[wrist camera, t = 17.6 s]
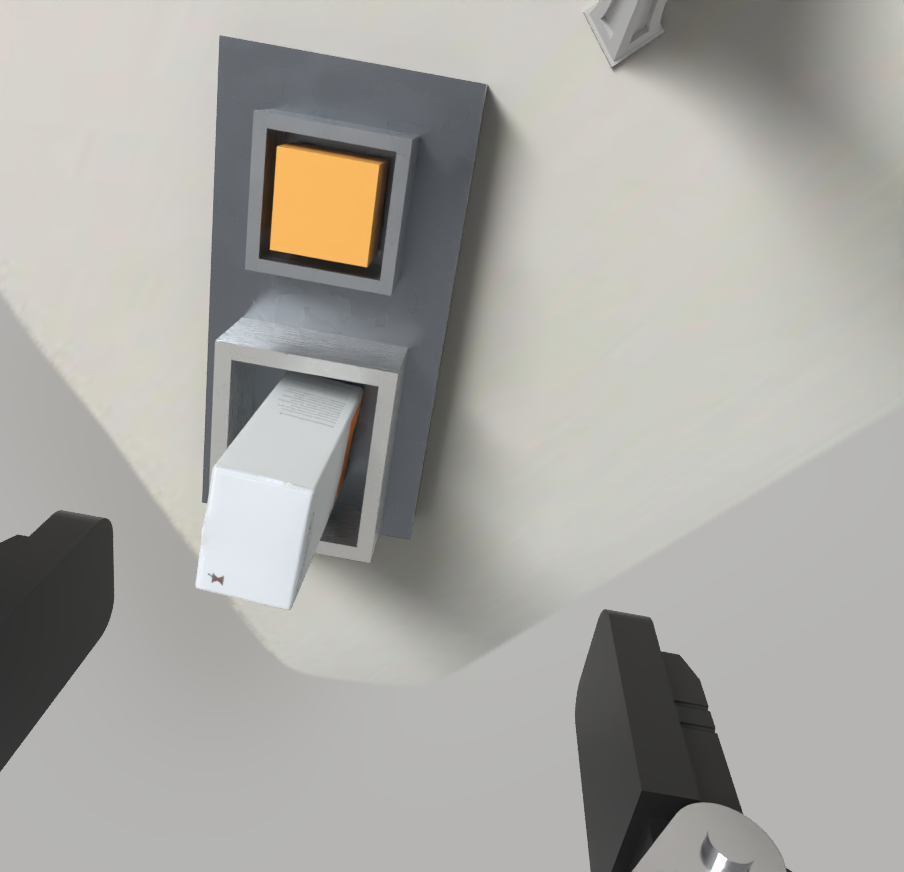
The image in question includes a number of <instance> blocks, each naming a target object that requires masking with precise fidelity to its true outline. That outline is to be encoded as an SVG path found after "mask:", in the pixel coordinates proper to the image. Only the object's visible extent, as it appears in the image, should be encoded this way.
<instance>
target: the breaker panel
mask: <svg viewBox="0 0 904 872" xmlns="http://www.w3.org/2000/svg"><path fill="white" fill-rule="evenodd" d="M487 86H488V85H487V84H482V83H476V82H471V81H465V80H460V79H454V78H449V77H444V76H438V75H433V74H427V73H422V72H416V71H411V70H405V69H400V68H395V67H389V66H384V65H378V64H373V63H367V62H362V61H356V60H351V59H345V58H340V57H335V56H329V55H324V54H318V53H313V52H307V51H302V50H296V49H291V48H286V47H280V46H275V45H269V44H264V43H258V42H253V41H247V40H242V39H236V38H231V37H226V36H220V39H219V66H218V93H217V119H216V146H215V173H214V200H213V227H212V253H211V280H210V307H209V334H208V361H207V387H206V414H205V441H204V468H203V495H202V502H203V503H207V502H208V496H209V489H210V482H211V475H212V469H213V467H214V465H215V464H216V463H217V461H218V460H219V459H220V458H221V456H222V455H223V454H224V452H225V451H226V450H227V448H228V447H229V446H230V445H231V443H232V442H233V441H234V439H235V438H236V437H237V436H238V434H239V433H240V432H241V430H242V429H243V428H244V427H245V425H246V424H247V423H248V421H249V420H250V419H251V417H252V416H253V415H254V413H255V412H256V411H257V410H258V409H259V407H260V406H261V405H262V403H263V402H264V401H265V400H266V398H267V397H268V396H269V394H270V393H271V392H272V391H273V389H274V388H275V387H276V385H277V384H278V383H279V381H280V380H281V379H282V378H283V376H284V375H285V374H286V372H287V371H288V370H290V371H296V372H301V373H307V374H312V375H316V376H319V377H323V378H327V379H331V380H335V381H338V382H342V383H346V384H350V385H354V386H359V387H361V388H363V390H364V393H363V397H362V401H361V405H360V409H359V413H358V417H357V421H356V425H355V429H354V433H353V438H352V442H351V447H350V452H349V457H348V462H347V467H346V472H345V478H344V483H343V485H342V488H341V490H340V492H339V495H338V497H337V500H336V502H335V504H334V507H333V509H332V511H331V514H330V516H329V519H328V521H327V524H326V526H325V529H324V531H323V534H322V536H321V538H320V541H319V543H318V546H317V548H316V550H315V553H317V554H322V555H328V556H334V557H339V558H345V559H350V560H356V561H361V562H367V563H370V562H371V559H372V555H373V552H374V549H375V545H376V542H377V538H378V535H379V534H381V535H387V536H392V537H398V538H404V539H409V540H410V535H411V531H412V526H413V522H414V517H415V511H416V505H417V499H418V494H419V488H420V482H421V476H422V470H423V464H424V458H425V452H426V446H427V440H428V435H429V429H430V423H431V417H432V411H433V405H434V399H435V393H436V387H437V381H438V376H439V370H440V364H441V358H442V352H443V346H444V340H445V334H446V328H447V322H448V317H449V311H450V305H451V299H452V293H453V287H454V281H455V275H456V269H457V263H458V258H459V252H460V246H461V240H462V234H463V228H464V222H465V216H466V210H467V204H468V199H469V193H470V187H471V181H472V175H473V169H474V163H475V157H476V151H477V145H478V140H479V134H480V128H481V122H482V116H483V110H484V104H485V98H486V92H487ZM292 142H299V143H304V144H310V145H315V146H321V147H326V148H331V149H337V150H342V151H348V152H353V153H359V154H364V155H370V156H375V157H381V158H386V159H389V166H388V174H387V182H386V190H385V198H384V206H383V214H382V222H381V230H380V238H379V246H378V253H377V255H376V257H375V258H374V259H373V260H372V262H371V263H370V264H369V265H368V267H362V266H357V265H351V264H346V263H340V262H335V261H329V260H324V259H318V258H313V257H307V256H302V255H296V254H291V253H285V252H280V251H274V250H270V240H271V225H272V211H273V196H274V182H275V167H276V152H277V146H280V145H284V144H288V143H292Z"/></svg>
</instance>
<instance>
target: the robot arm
mask: <svg viewBox="0 0 904 872" xmlns="http://www.w3.org/2000/svg"><path fill="white" fill-rule="evenodd" d="M113 603H114V564H113V528H112V524H111V522H110V521H109V520H108V519H106V518H101V517H95V516H90V515H85V514H79V513H73V512H68V511H62V510H60V511H57V512H55V513H54V514H53V515H52V516H51V517H50V518H49V519H47V520H46V521H45V522H44V523H43V524H42V525H41V526H40V527H39V528H38V529H37V530H36V531H35V532H33V534H31V535H30V536H29V537H27V536H22V535H16V536H14V537H12V538H9V539H7V540H5V541H3V542H1V543H0V771H1V770H2V769H3V767H4V766H5V765H6V763H7V762H8V761H9V759H10V758H11V756H12V755H13V754H14V752H15V751H16V750H17V749H18V747H19V746H20V745H21V743H22V742H23V741H24V739H25V738H26V737H27V735H28V734H29V733H30V731H31V730H32V729H33V727H34V726H35V725H36V723H37V722H38V721H39V719H40V718H41V717H42V715H43V714H44V713H45V711H46V710H47V709H48V707H49V706H50V705H51V703H52V702H53V701H54V699H55V698H56V696H57V695H58V693H59V692H60V691H61V690H62V688H63V687H64V686H65V684H66V683H67V682H68V680H69V679H70V677H71V676H72V675H73V674H74V672H75V671H76V670H77V668H78V667H79V666H80V664H81V663H82V662H83V660H84V659H85V657H86V656H87V655H88V653H89V652H90V651H91V650H92V648H93V647H94V646H95V644H96V643H97V641H98V640H99V639H100V637H101V636H102V635H103V633H104V631H105V629H106V627H107V625H108V622H109V619H110V616H111V613H112V609H113ZM575 724H576V733H577V743H578V752H579V763H580V772H581V782H582V792H583V801H584V811H585V820H586V829H587V839H588V849H589V858H590V869H591V872H792V871H790V870H788V869H787V868H786V866H785V863H784V860H783V857H782V855H781V853H780V852H779V850H778V848H777V846H776V845H775V843H774V842H773V840H772V839H771V838H770V837H769V836H768V835H767V833H766V832H765V831H764V830H763V829H761V828H760V827H759V826H758V825H757V824H756V823H754V822H753V821H752V820H751V819H749V818H748V817H746V816H744V815H743V812H742V809H741V806H740V803H739V800H738V797H737V794H736V791H735V788H734V784H733V781H732V778H731V775H730V772H729V769H728V766H727V763H726V760H725V757H724V754H723V750H722V747H721V744H720V741H719V738H718V735H717V733H715V725H714V723H713V719H712V716H711V713H710V711H708V704H707V701H706V698H705V694H704V691H703V688H702V685H701V682H700V680H699V678H698V677H697V676H696V675H695V673H694V672H693V671H692V670H691V668H690V667H689V666H688V665H687V663H686V662H685V661H684V660H683V658H682V657H681V656H680V655H677V654H672V653H667V652H661V651H660V647H659V643H658V640H657V636H656V633H655V629H654V625H653V622H652V620H651V618H650V617H645V616H640V615H634V614H628V613H623V612H617V611H612V610H606V609H605V610H603V611H602V613H601V614H600V617H599V619H598V622H597V626H596V629H595V632H594V635H593V639H592V642H591V645H590V649H589V652H588V655H587V659H586V662H585V665H584V668H583V672H582V675H581V679H580V682H579V686H578V691H577V698H576V707H575Z"/></svg>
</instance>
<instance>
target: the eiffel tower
mask: <svg viewBox="0 0 904 872" xmlns="http://www.w3.org/2000/svg"><path fill="white" fill-rule="evenodd" d="M666 2H667V0H599V2H598V3H596V4H595V5H593V6H592V7H590V8H589V9H588V10H586V11H585V12H583V13H584V15H585V17H586V19H587V20H588V22H589V24H590V26H591V28H592V30H593V32H594V34H595V36H596V38H597V40H598V42H599V44H600V46H601V48H602V50H603V52H604V54H605V56H606V58H607V60H608V62H609V64H610V66H611V67H613V66H614V65H616V64H617V63H619V62H620V61H622V60H623V59H625V58H626V57H628V56H629V55H631V54H632V53H634V52H635V51H637V50H638V49H640V48H641V47H643V46H644V45H646V44H647V43H649V42H650V41H652V40H653V39H655V38H656V37H658V36H659V35H661V34H662V33H664V32H665V31H664V29H663V27H662V25H661V23H660V21H661V17H662V13H663V10H664V7H665V5H666Z"/></svg>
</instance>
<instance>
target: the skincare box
mask: <svg viewBox="0 0 904 872" xmlns="http://www.w3.org/2000/svg"><path fill="white" fill-rule="evenodd" d="M363 393H364V390H363V388H361V387H359V386H354V385H350V384H346V383H342V382H338V381H335V380H331V379H327V378H323V377H319V376H316V375H312V374H307V373H301V372H296V371H290V370H288V371H287V372H286V374H285V375H284V376H283V378H282V379H281V380H280V381H279V383H278V384H277V385H276V387H275V388H274V389H273V391H272V392H271V393H270V394H269V396H268V397H267V398H266V400H265V401H264V402H263V403H262V405H261V406H260V407H259V409H258V410H257V411H256V412H255V413H254V415H253V416H252V417H251V419H250V420H249V421H248V423H247V424H246V425H245V427H244V428H243V429H242V430H241V432H240V433H239V434H238V436H237V437H236V438H235V439H234V441H233V442H232V443H231V445H230V446H229V447H228V448H227V450H226V451H225V452H224V454H223V455H222V456H221V458H220V459H219V460H218V461H217V463H216V464H215V465H214V467H213V469H212V475H211V482H210V489H209V496H208V502H207V509H206V514H205V518H204V522H203V526H202V533H201V547H200V554H199V562H198V570H197V577H196V588H197V589H201V590H205V591H210V592H214V593H218V594H222V595H226V596H230V597H234V598H238V599H242V600H246V601H250V602H255V603H258V604H262V605H267V606H271V607H275V608H280V609H285V610H290V609H291V608H292V606H293V603H294V601H295V598H296V596H297V594H298V592H299V589H300V587H301V584H302V582H303V579H304V577H305V574H306V572H307V570H308V567H309V565H310V562H311V560H312V558H313V555H314V553H315V550H316V548H317V546H318V543H319V541H320V538H321V536H322V534H323V531H324V529H325V526H326V524H327V521H328V519H329V516H330V514H331V511H332V509H333V507H334V504H335V502H336V500H337V497H338V495H339V492H340V490H341V488H342V485H343V483H344V478H345V472H346V467H347V462H348V457H349V452H350V447H351V442H352V438H353V433H354V429H355V425H356V421H357V417H358V413H359V409H360V405H361V401H362V397H363Z"/></svg>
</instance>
